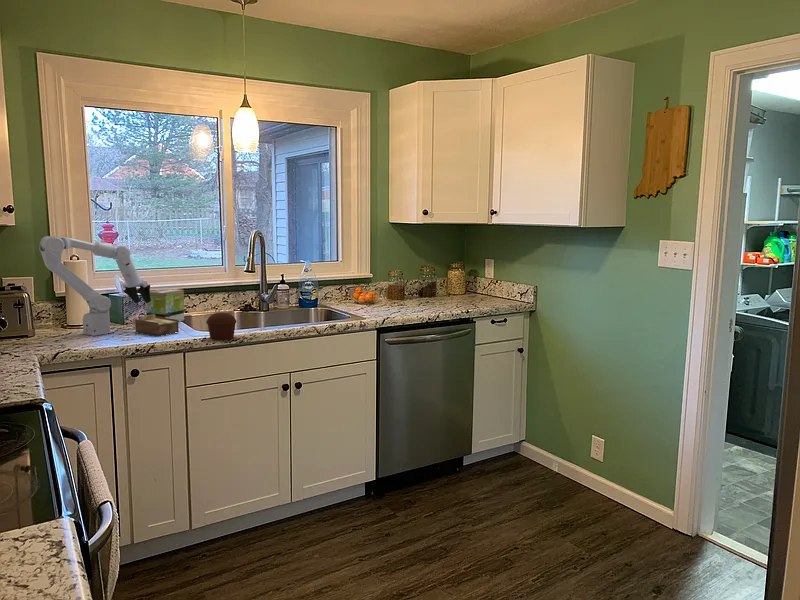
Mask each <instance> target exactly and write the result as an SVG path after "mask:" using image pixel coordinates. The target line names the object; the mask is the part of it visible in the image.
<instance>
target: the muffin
mask: <svg viewBox="0 0 800 600" xmlns="http://www.w3.org/2000/svg"><path fill="white" fill-rule="evenodd" d="M205 323H206V324H207V329H208V334H209V338H210V339H211V340H214V341H215V340H216V341H224V340H231V339H233V338H234V336H235V329H236V323H237V319H236V318H235V316H234V315H233V314H230V313H229V312H224V311H223V312H215V313H213V314H211V315H210V316H208V318H207V320H206V322H205Z"/></svg>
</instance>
